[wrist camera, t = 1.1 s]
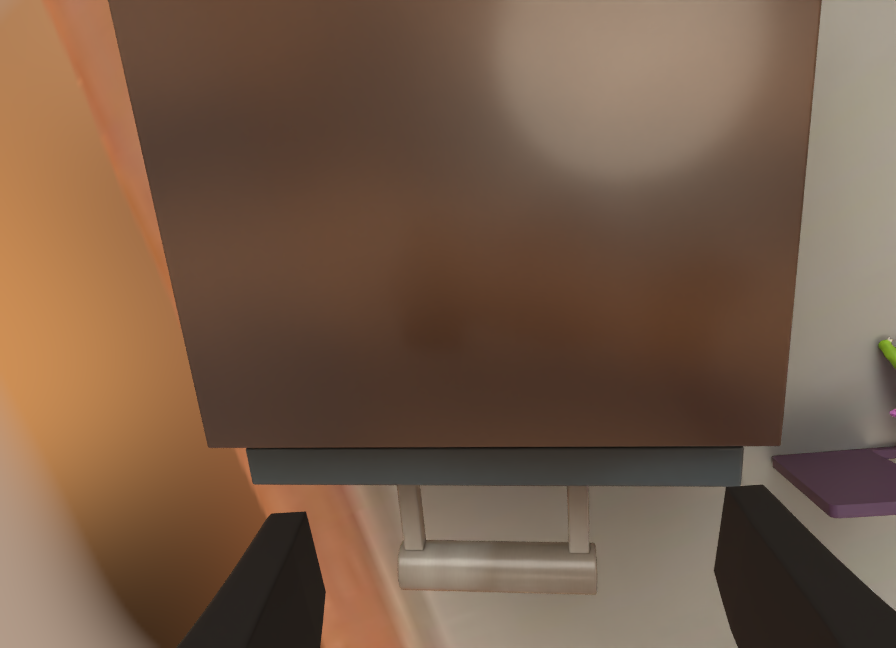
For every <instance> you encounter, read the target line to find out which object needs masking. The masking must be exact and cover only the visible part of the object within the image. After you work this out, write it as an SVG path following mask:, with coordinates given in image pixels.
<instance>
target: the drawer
mask: <svg viewBox="0 0 896 648" xmlns="http://www.w3.org/2000/svg"><path fill="white" fill-rule="evenodd" d="M743 451H744V448H743V446H641V447H321V448H246V453H247V457H248V462H249V467H250V472H251V477H252V482H253V484H270V485H397V490H398V498H399V506H400V515H401V523H402V531H403V539H404V540H403V541H402V543H401V545H400V549H399V554H398V581H399V585H400V588H401V589H403V590H432V591H470V592H508V593H547V594H585V595H595V594H597V559H596V547H595V544H594V543H589V486H700V487H733V486H740V485H741V479H742V465H743ZM420 485H485V486H567V499H568V537H569V542H517V541H454V540H426V534H425V525H424V516H423V507H422V498H421V488H420Z"/></svg>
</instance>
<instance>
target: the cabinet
mask: <svg viewBox="0 0 896 648" xmlns="http://www.w3.org/2000/svg"><path fill="white" fill-rule="evenodd" d="M108 2H109V7H110V11H111V16H112V20H113V25H114V29H115V34H116V38H117V43H118V47H119V51H120V56H121V60H122V65H123V69H124V74H125V78H126V83H127V87H128V92H129V96H130V101H131V105H132V110H133V114H134V118H135V123H136V127H137V132H138V136H139V141H140V145H141V150H142V154H143V159H144V163H145V168H146V172H147V177H148V181H149V186H150V190H151V194H152V199H153V203H154V208H155V212H156V217H157V221H158V226H159V230H160V235H161V239H162V244H163V248H164V253H165V257H166V261H167V266H168V270H169V275H170V279H171V284H172V288H173V293H174V297H175V302H176V306H177V311H178V315H179V320H180V324H181V329H182V333H183V337H184V342H185V346H186V351H187V355H188V360H189V364H190V369H191V373H192V378H193V382H194V387H195V390H196V395H197V400H198V404H199V409H200V413H201V417H202V422H203V427H204V431H205V436H206V440H207V444H208V447H209V448H321V447H641V446H780V445H781V436H782V426H783V415H784V404H785V393H786V382H787V371H788V361H789V350H790V339H791V328H792V317H793V306H794V295H795V285H796V274H797V263H798V252H799V241H800V230H801V220H802V209H803V198H804V187H805V176H806V165H807V155H808V144H809V133H810V122H811V111H812V100H813V89H814V79H815V68H816V57H817V46H818V35H819V24H820V14H821V3H822V0H108Z"/></svg>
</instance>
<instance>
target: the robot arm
mask: <svg viewBox="0 0 896 648" xmlns="http://www.w3.org/2000/svg"><path fill="white" fill-rule="evenodd" d="M714 573H715V576H716V580H717V584H718V587H719V591H720V594H721V598H722V602H723V605H724V609H725V612H726V615H727V619H728V622H729V625H730V629H731V631H732V634H733V636H734V639H735V641H736V644H737V646H738V648H896V611H894V610H893V609H892V608H891V607H890V606H889V605H888V604H886V603H885V602H884V601H883V600H882V599H881V598H880V597H879V596H877V595H876V594H875V593H874V592H873V591H872V590H871V589H870V588H869V587H868V586H866V585H865V584H864V583H863V582H862V581H861V580H860V579H859V578H858V577H857V576H856V575H855V574H854V573H852V572H851V571H850V570H849V569H848V568H847V567H846V566H845V565H844V564H843V563H842V562H841V561H840V560H838V559H837V558H836V557H835V556H834V555H833V554H832V553H831V552H830V551H829V550H828V549H827V548H826V547H825V546H824V545H823V544H822V543H821V542H820V541H819V540H818V539H817V538H816V537H815V536H814V535H813V534H812V533H811V532H810V531H809V530H808V529H807V528H806V527H805V526H804V525H803V524H802V523H801V522H800V521H799V520H798V519H797V518H796V517H795V516H794V515H793V514H792V513H791V512H790V511H789V510H788V509H787V508H786V507H785V506H784V505H783V504H782V503H781V502H780V501H779V500H778V499H777V498H776V497H775V496H774V495H773V494H772V493H771V492H770V491H769V490H768V489H767V488H766V487H765V486H764V485H750V486H733V487H726V491H725V498H724V505H723V512H722V519H721V526H720V533H719V540H718V547H717V553H716V560H715V567H714ZM325 593H326V591H325V587H324V583H323V579H322V575H321V571H320V567H319V563H318V559H317V554H316V550H315V546H314V542H313V538H312V534H311V530H310V526H309V522H308V518H307V514H306V512H291V513H274V514H271V515H270V516H269V517H268V518H267V519H266V521H265V522H264V524H263V525H262V527H261V528H260V530H259V531H258V533H257V535H256V537H255V538H254V539H253V541H252V542H251V544H250V545H249V547H248V548H247V550H246V552H245V553H244V555H243V556H242V558H241V559H240V561H239V562H238V564H237V565H236V567H235V568H234V569H233V571H232V573H231V574H230V575H229V577H228V578H227V580H226V581H225V583H224V584H223V586H222V587H221V588H220V590H219V591H218V593H217V594H216V595H215V597H214V598H213V599H212V601H211V602H210V604H209V605H208V606H207V608H206V609H205V611H204V612H203V614H202V615H201V616H200V618H199V619H198V620H197V622H196V623H195V624H194V626H193V627H192V628H191V629H190V631H189V632H188V633H187V634H186V636H185V637H184V638H183V640H182V641H181V642H180V643H179V645H178V646H177V647H176V648H320V643H321V634H322V625H323V615H324V604H325Z"/></svg>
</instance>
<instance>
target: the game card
mask: <svg viewBox="0 0 896 648" xmlns="http://www.w3.org/2000/svg"><path fill="white" fill-rule="evenodd" d="M892 341H893V339H892V340H890V337H889V338H888V339H887V340H882V341H880V342H879V344H878V347H879V348H880V350H881V351H882V352H883V354H884V356H885V357H886V358H887V359H888V360H889V361H890V362H891V364H892V366H893V367H894V368H895V369H896V347H894V346H893V345H892V343H891V342H892ZM890 415H891V416H893V417H896V409H894V410H892V411H890ZM894 458H896V446H894V447H880V448H867V449H854V450H841V451H828V452H815V453H802V454H789V455H777V456H772V462H773V468H775V469H776V470H777V471H778V472H779V473H780V474H781V475H783V476H784V477H785V478H786V479H787V480H788V481H789V482H791V483H792V484H793V485H794V486H795V487H796V488H798V489H799V490H800V491H801V492H802V493H803V494H804V495H806V496H807V497H808V498H809V499H810V500H811V501H812V502H814V503H815V504H816V505H817V506H818V507H819V508H820V509H822V510H823V511H824V512H825V513H826V514H827V515H828V516H830V517H833V518H852V517H868V516H885V515H896V463H894V462H892V461H890V460H888V459H894Z"/></svg>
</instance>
